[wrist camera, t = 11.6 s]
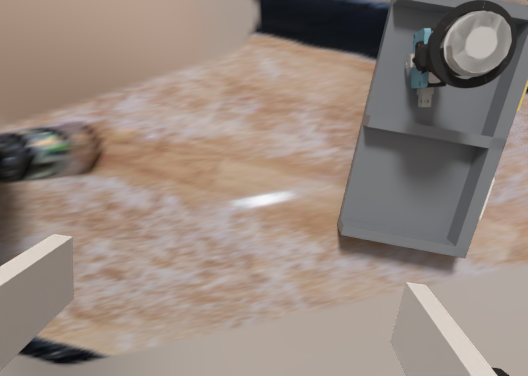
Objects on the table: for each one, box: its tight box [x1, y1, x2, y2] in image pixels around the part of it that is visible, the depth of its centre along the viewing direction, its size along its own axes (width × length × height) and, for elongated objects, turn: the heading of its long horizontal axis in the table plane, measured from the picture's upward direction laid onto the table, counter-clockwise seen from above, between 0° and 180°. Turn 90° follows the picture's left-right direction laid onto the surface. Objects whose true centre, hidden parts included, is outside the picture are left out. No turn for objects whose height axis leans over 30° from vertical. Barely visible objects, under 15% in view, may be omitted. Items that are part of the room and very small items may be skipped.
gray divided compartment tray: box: [337, 0, 528, 258], centre depth 32 cm, size 12×22×3 cm, turn 170°
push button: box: [405, 0, 517, 107], centre depth 26 cm, size 7×5×10 cm
